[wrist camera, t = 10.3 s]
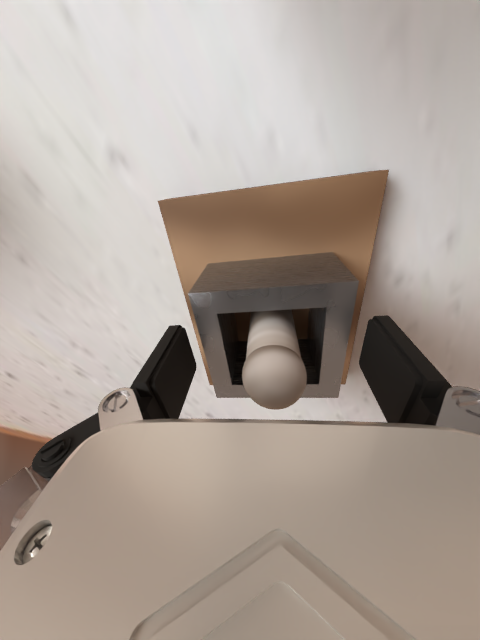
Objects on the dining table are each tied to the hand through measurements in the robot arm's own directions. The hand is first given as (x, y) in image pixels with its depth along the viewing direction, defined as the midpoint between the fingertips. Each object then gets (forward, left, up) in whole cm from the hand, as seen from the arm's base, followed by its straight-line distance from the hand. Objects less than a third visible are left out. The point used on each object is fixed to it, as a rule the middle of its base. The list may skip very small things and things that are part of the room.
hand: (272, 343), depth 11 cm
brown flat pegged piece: (0, 0, -5) cm, 5 cm away
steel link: (0, 0, -3) cm, 3 cm away
